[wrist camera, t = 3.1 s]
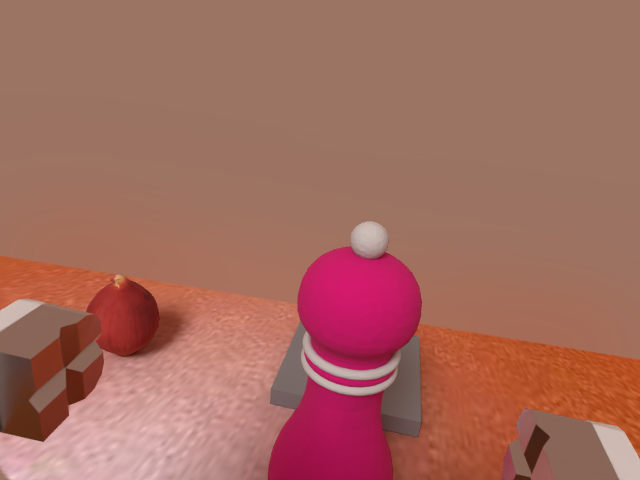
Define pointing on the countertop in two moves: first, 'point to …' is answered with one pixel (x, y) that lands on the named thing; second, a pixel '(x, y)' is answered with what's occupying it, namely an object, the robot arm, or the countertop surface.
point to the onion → (124, 316)
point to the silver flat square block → (397, 399)
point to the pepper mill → (348, 361)
